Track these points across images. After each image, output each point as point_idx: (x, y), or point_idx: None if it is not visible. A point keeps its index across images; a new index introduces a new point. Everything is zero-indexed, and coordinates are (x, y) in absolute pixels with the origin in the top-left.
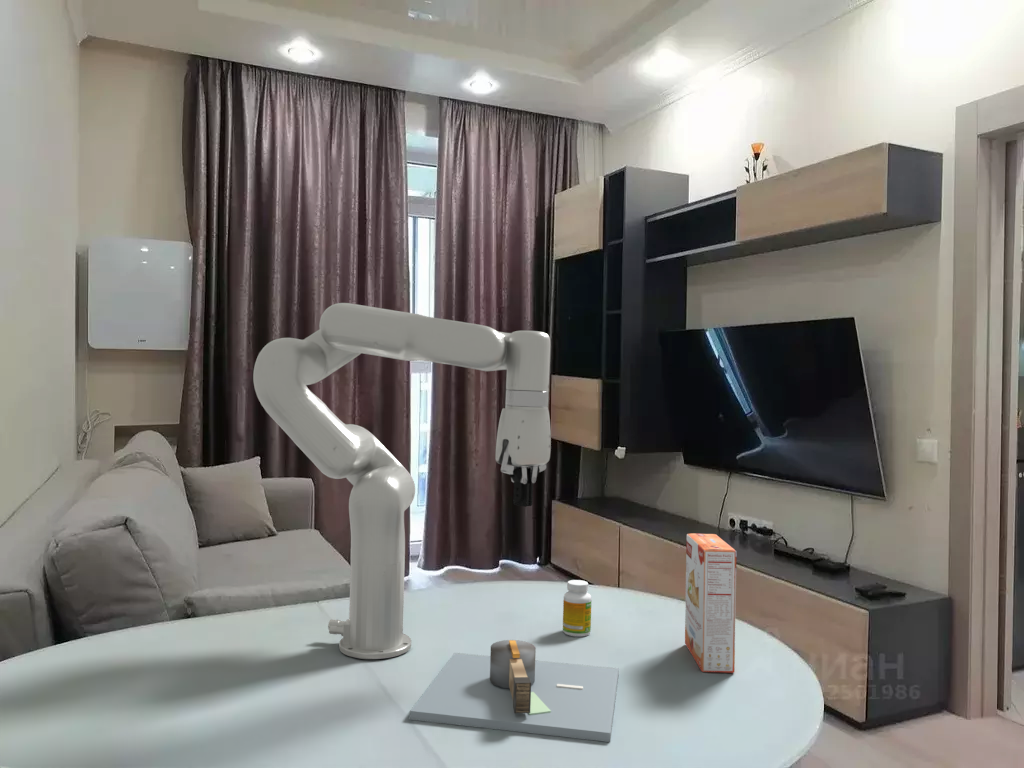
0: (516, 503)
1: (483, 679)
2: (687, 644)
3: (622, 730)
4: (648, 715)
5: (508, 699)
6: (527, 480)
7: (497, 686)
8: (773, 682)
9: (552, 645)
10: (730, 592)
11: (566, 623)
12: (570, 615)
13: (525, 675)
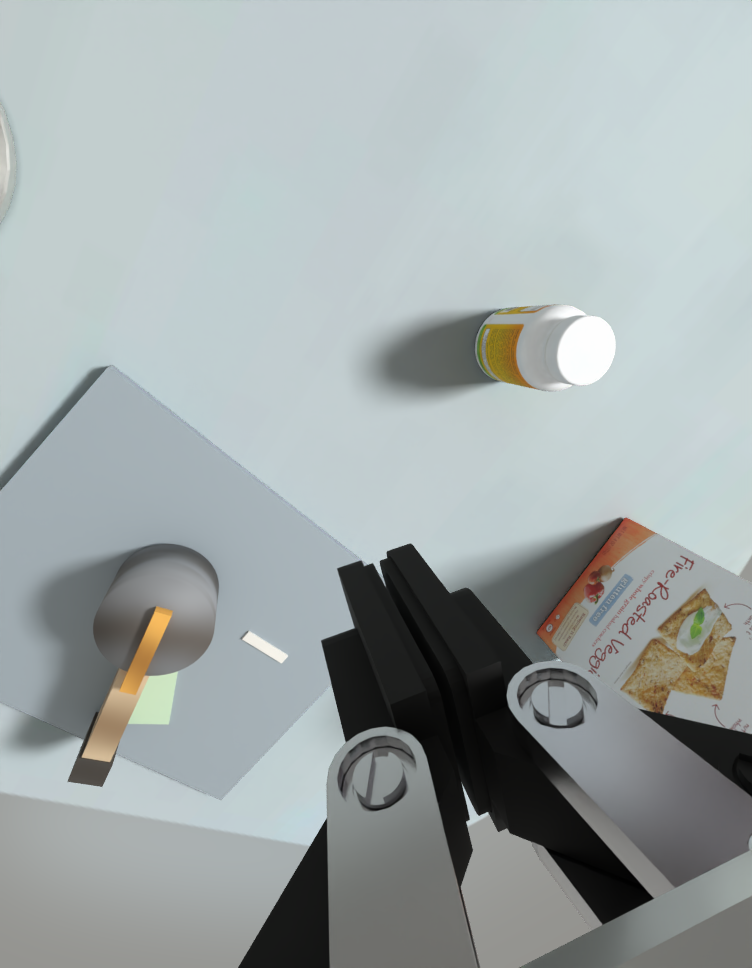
0: (347, 602)
1: (109, 554)
2: (613, 541)
3: (264, 763)
4: (335, 734)
5: None
6: (504, 819)
7: None
8: None
9: (399, 394)
10: None
11: (486, 349)
12: (500, 363)
13: (111, 750)
